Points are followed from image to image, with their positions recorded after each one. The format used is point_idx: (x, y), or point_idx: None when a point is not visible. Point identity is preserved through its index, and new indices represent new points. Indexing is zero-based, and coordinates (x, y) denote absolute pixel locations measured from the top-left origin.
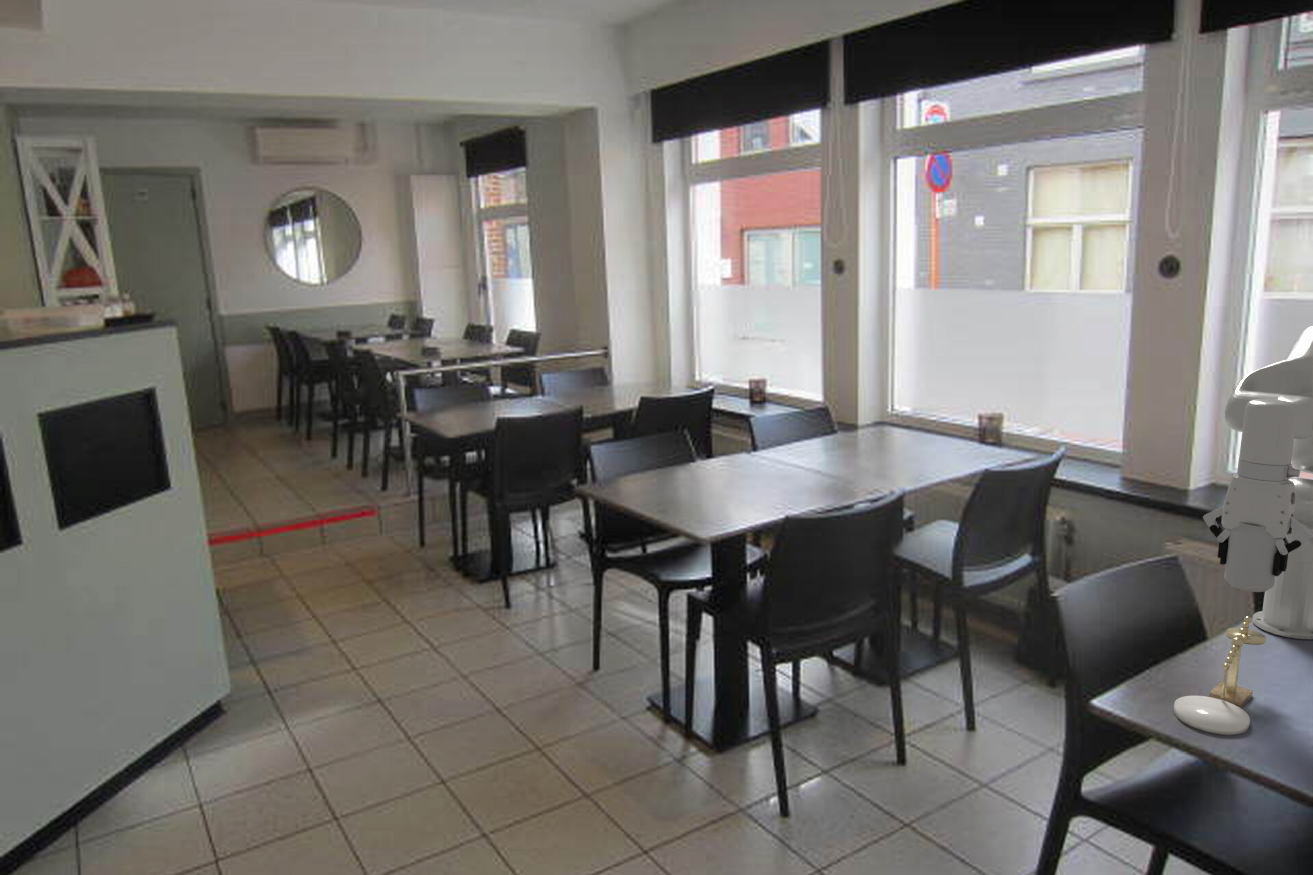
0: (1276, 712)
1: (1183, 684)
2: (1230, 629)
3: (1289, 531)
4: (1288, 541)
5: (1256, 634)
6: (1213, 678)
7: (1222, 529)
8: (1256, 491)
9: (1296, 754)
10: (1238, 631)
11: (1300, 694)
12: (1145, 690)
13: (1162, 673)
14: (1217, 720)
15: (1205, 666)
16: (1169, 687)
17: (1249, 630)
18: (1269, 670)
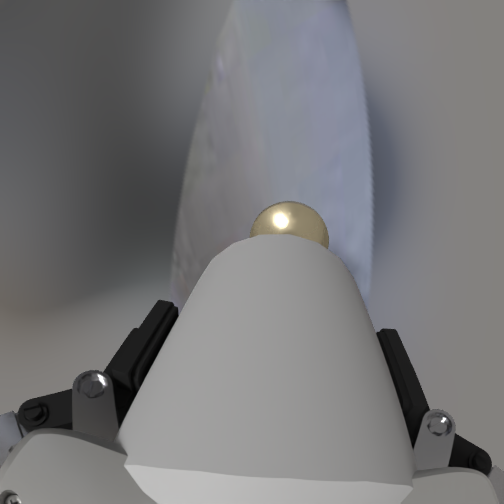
0: None
1: (218, 248)
2: (255, 231)
3: (485, 477)
4: (446, 460)
5: (309, 228)
6: (248, 197)
7: (66, 424)
8: None
9: None
10: (272, 233)
11: (369, 177)
12: (187, 294)
13: (184, 228)
14: None
15: (227, 156)
16: None
17: (292, 212)
18: (318, 105)
